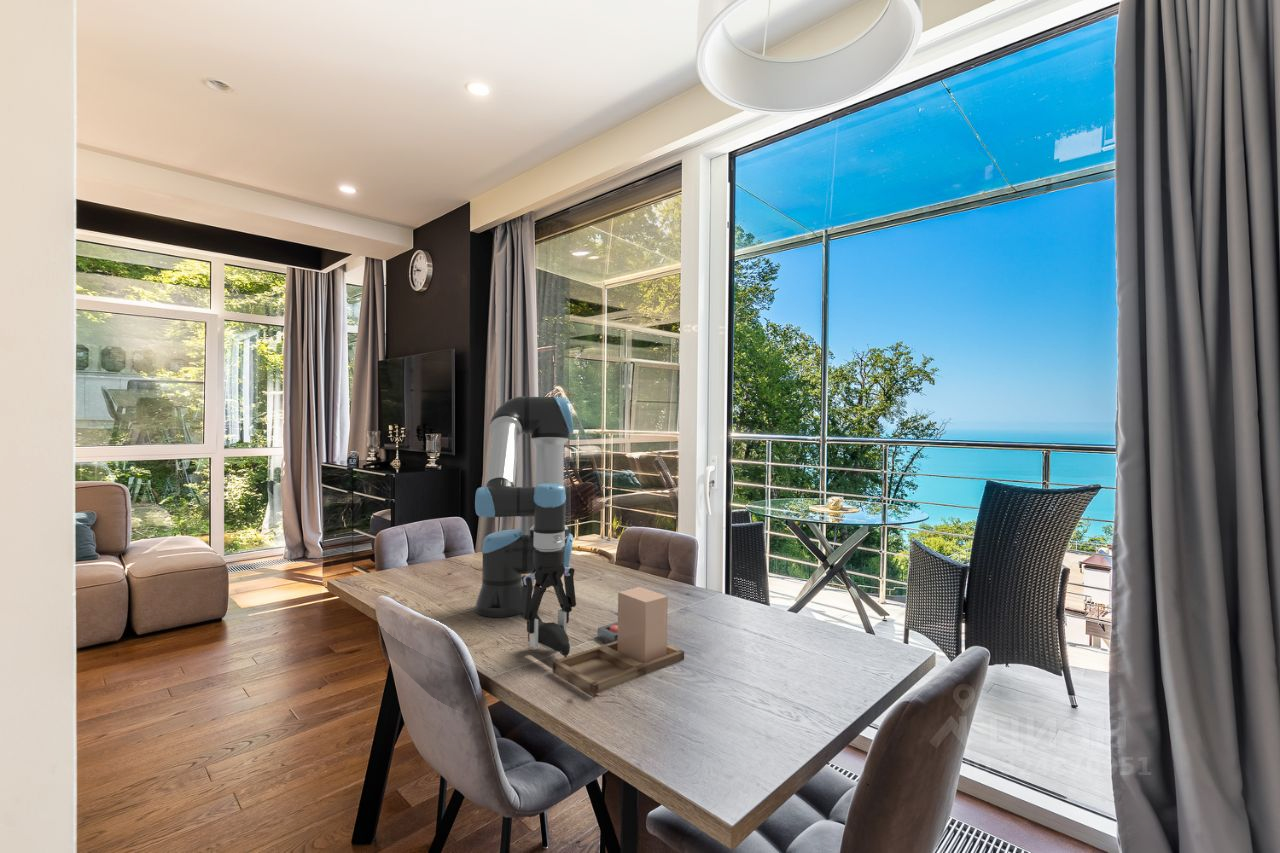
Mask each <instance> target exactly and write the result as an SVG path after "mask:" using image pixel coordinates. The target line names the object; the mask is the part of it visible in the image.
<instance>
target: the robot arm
mask: <svg viewBox="0 0 1280 853" xmlns="http://www.w3.org/2000/svg"><path fill="white" fill-rule="evenodd" d="M573 423H574V422H573V413H572V407H571V403H570V400H569V399H567V398H566V397H559V396H558V397H557V396H524V395H523V396H515V397H512V398H511V399H509V400H507V401H505V402H504V403H502V404H501V405H500V406H499V407H498V408H497V409H496V411H495V412H494V413H493V415H492V416H491V418H490V422H489V429H488V430H489V434H490V436H491V441H490V449H489V459H488V464H487V465H488V467H487V473H486V480H485V481H486V482H485V486H482V487H478V488H477V489H476V491H475V499H474V509H475V514H476V515H477V516H478V517H481V518H483V517H484V518H504V517H505V518H506V517H509V518H510V517H512V518H513V517H514V518H515V517H519V518H520V517H533V525H532V526H531V527H530V528H529V534H524V532H523V531H522V529H513V528H512V529H505V530H497V531H495V532H492V533H489V534H488V535H486V536H485V537H484V539H483V541H482V550H481V554H482V568H481V569H482V571H481V572H482V573H481V574H482V575H481V576H482V578H481V580H482V582H481V587H480V590H479V593H478V597H477V599H476V602H475V612H476V613H477V614H478V615H480V616H484V617H488V618H504V617H505V618H506V617H512V616H513V617H514V616H516V615H518V616H519V617H520V618H522V619H524V620H526V632H527V634H528V633H530V634H529V642H528V643H529V645H530V646H532V647H534V648H535V649H536V648H539V643H538V619H536V615H537V614H538V611H539V609H540V606H541V602H542V599H543V596H544V594H545V592H546V591H547V589H548V588H550V587H553V589H554V592H555V595H556V598H557V601H558V603H559V606H560V608H561V609H557V624H558V625H559V626H560V625H562V626H563V628H564V630H565V632H566V633H567V624H569V622H570V613H571V612H572V611H573V609H572V608H575V607H576V606H577V600H576V590H575V581H574V579H575V578H574V576H575V568H573V567H570V562H571V556H572V552H573V551H572V549H573V540H574V539H573V538H574V536H573V534H572V533H570V532H569V527H568V526H567V525H566V522H565V521H566V501H567V496H566V487H565V485H564V476H565V474H564V465H565V463H564V459H565V457H564V454H565V451H564V448H565V444H566V443H567V442H569V439H570V438H569V437H570V436H571V435H573V434H574V424H573ZM523 434H524V435H530V440H531V441H532V442H533V444H534V445H535V480H534V482H535V484H534V485H535V486H516V478H517V463H518V461H517V460H518V449H519V446H518V445H519V438H520V437H521V436H522V435H523ZM562 577H563V581H564V582H563V581H562ZM534 580H535V581H534ZM533 585H534V586H533ZM533 588H534V590H533Z"/></svg>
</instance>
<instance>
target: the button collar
mask: <svg viewBox="0 0 1280 853" xmlns="http://www.w3.org/2000/svg"><path fill="white" fill-rule="evenodd" d="M613 625H618V621H616V622H613V623H610V624H605V625H603V626H600V627H597V638H599V639H600V640H602V641H605V642H607V643H612V642H615V641H618V632H617V633H614V632H612V631H610V626H613Z"/></svg>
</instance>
